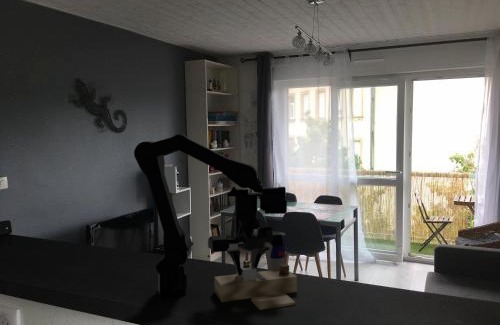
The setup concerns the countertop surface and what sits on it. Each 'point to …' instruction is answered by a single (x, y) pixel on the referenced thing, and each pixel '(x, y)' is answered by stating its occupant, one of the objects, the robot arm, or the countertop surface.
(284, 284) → the plane body
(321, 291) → the countertop surface
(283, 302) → the flat wooden board
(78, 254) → the countertop surface
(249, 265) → the grey piece
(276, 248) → the energy drink
